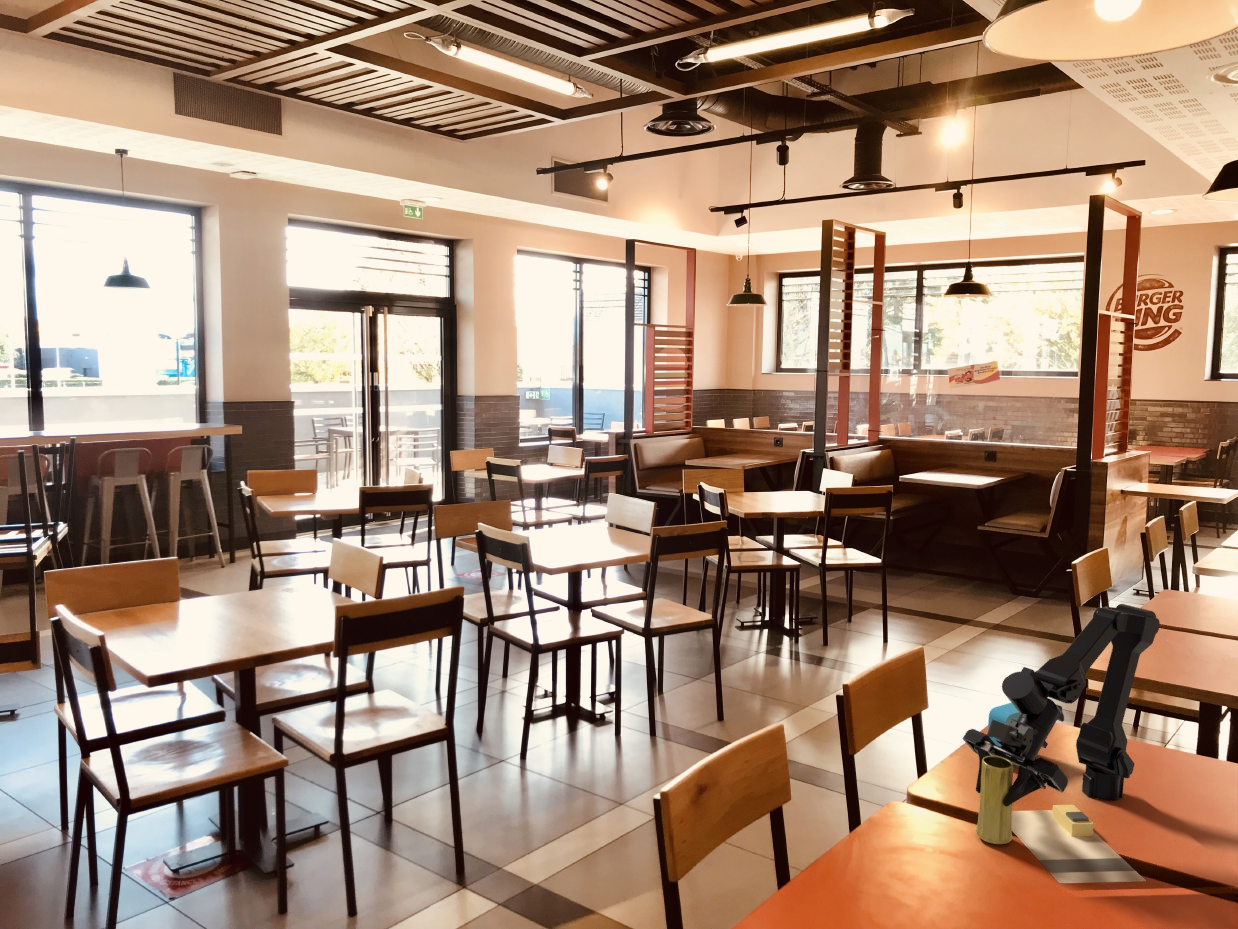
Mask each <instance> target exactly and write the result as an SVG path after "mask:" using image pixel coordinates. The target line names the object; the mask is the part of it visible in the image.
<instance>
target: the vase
mask: <svg viewBox="0 0 1238 929" xmlns="http://www.w3.org/2000/svg"><path fill="white" fill-rule="evenodd" d="M1013 779H1014V765H1013V763H1012V762H1011V761H1010V760H1008V759H1006V758H1004V757H1000V756H986V757H984V758H983V759H982V771H981V789H980V793H979V809H978V817H977V824H976V829H975V834H976V835H977V837H979V838H980V839H981V840H983V841H985V842H986V843H989V844H994V845H1005V844H1008V843H1010V842H1011V841H1012V840H1013V831H1012V822H1011V821H1012V811H1013V803H1012V804H1011V805H1009V806H1007V807H1006V806H1004V805H1003V801H1004V799H1005V797H1006V795H1007V793H1008V791H1009V790H1010V788H1011V786H1012V785H1013V783H1014V780H1013Z"/></svg>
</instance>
